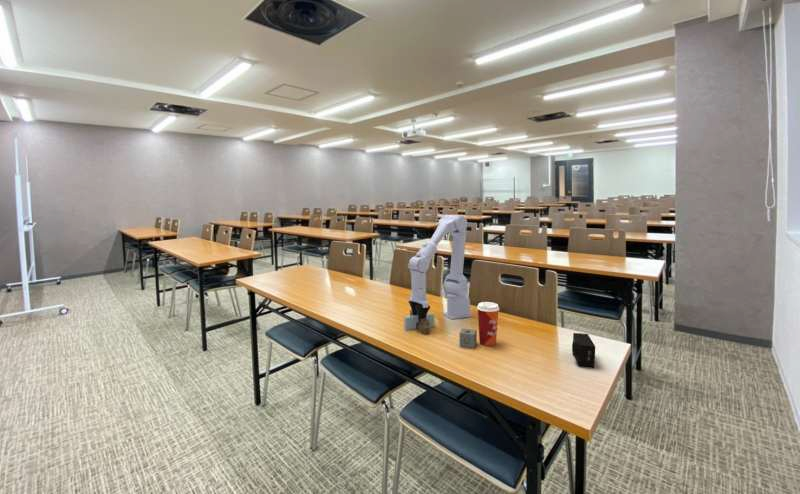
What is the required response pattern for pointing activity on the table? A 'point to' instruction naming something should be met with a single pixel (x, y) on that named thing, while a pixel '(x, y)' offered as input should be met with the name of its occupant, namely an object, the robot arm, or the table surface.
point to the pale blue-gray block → (412, 320)
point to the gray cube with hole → (468, 338)
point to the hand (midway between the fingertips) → (419, 320)
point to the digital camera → (583, 350)
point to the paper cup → (487, 322)
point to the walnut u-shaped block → (422, 325)
